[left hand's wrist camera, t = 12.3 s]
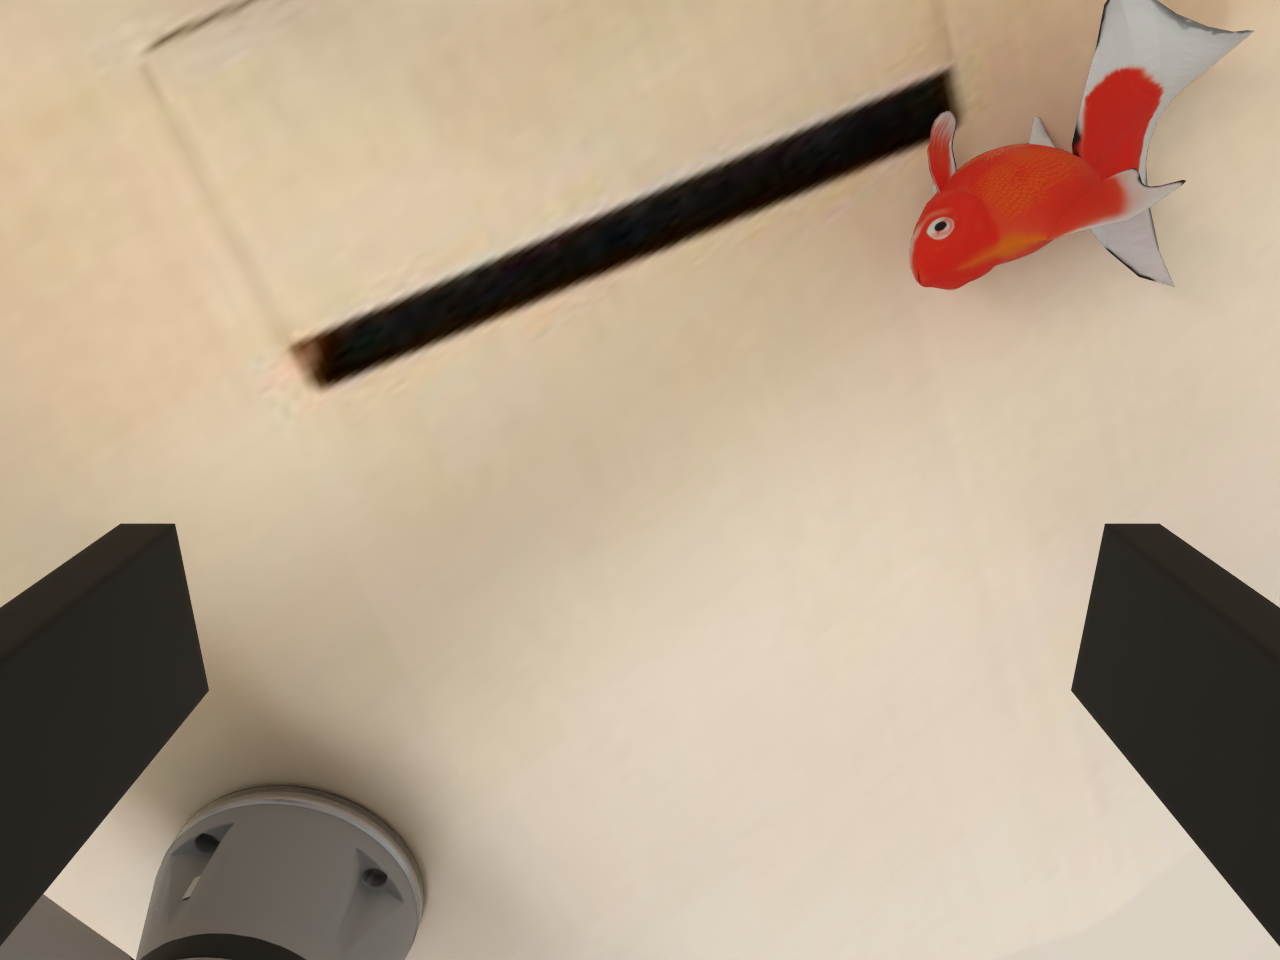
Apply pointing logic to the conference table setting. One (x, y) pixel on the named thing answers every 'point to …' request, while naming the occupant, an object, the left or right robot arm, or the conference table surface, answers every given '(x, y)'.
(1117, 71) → the fish
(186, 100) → the conference table surface
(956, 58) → the conference table surface
